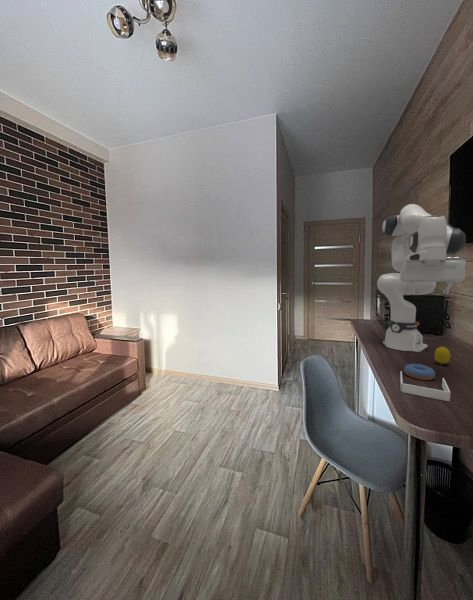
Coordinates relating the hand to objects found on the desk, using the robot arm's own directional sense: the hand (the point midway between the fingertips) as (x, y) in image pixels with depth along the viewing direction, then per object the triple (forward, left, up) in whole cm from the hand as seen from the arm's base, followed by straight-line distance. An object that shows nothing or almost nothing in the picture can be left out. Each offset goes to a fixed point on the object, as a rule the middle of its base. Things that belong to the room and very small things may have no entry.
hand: (430, 293), depth 102 cm
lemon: (-19, -2, -32) cm, 38 cm away
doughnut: (+3, 0, -33) cm, 33 cm away
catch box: (+14, +6, -32) cm, 36 cm away
